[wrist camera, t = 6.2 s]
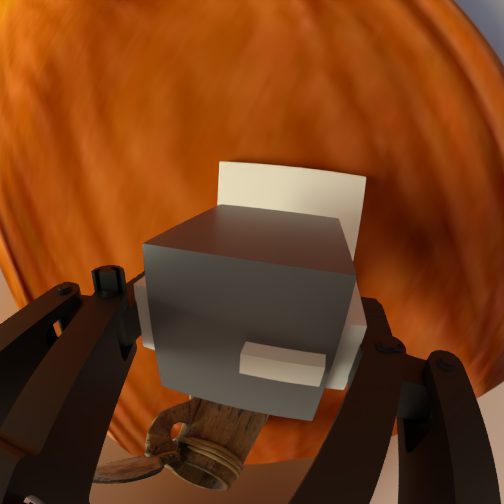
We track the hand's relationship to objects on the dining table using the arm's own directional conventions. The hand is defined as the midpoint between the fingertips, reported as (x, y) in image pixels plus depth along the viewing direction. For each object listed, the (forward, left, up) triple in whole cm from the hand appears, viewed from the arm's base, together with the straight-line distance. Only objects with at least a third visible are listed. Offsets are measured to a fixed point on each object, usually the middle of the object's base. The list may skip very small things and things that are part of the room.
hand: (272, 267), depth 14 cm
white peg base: (0, 0, -7) cm, 7 cm away
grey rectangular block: (0, 0, 0) cm, 0 cm away
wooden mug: (+18, -5, -7) cm, 20 cm away
